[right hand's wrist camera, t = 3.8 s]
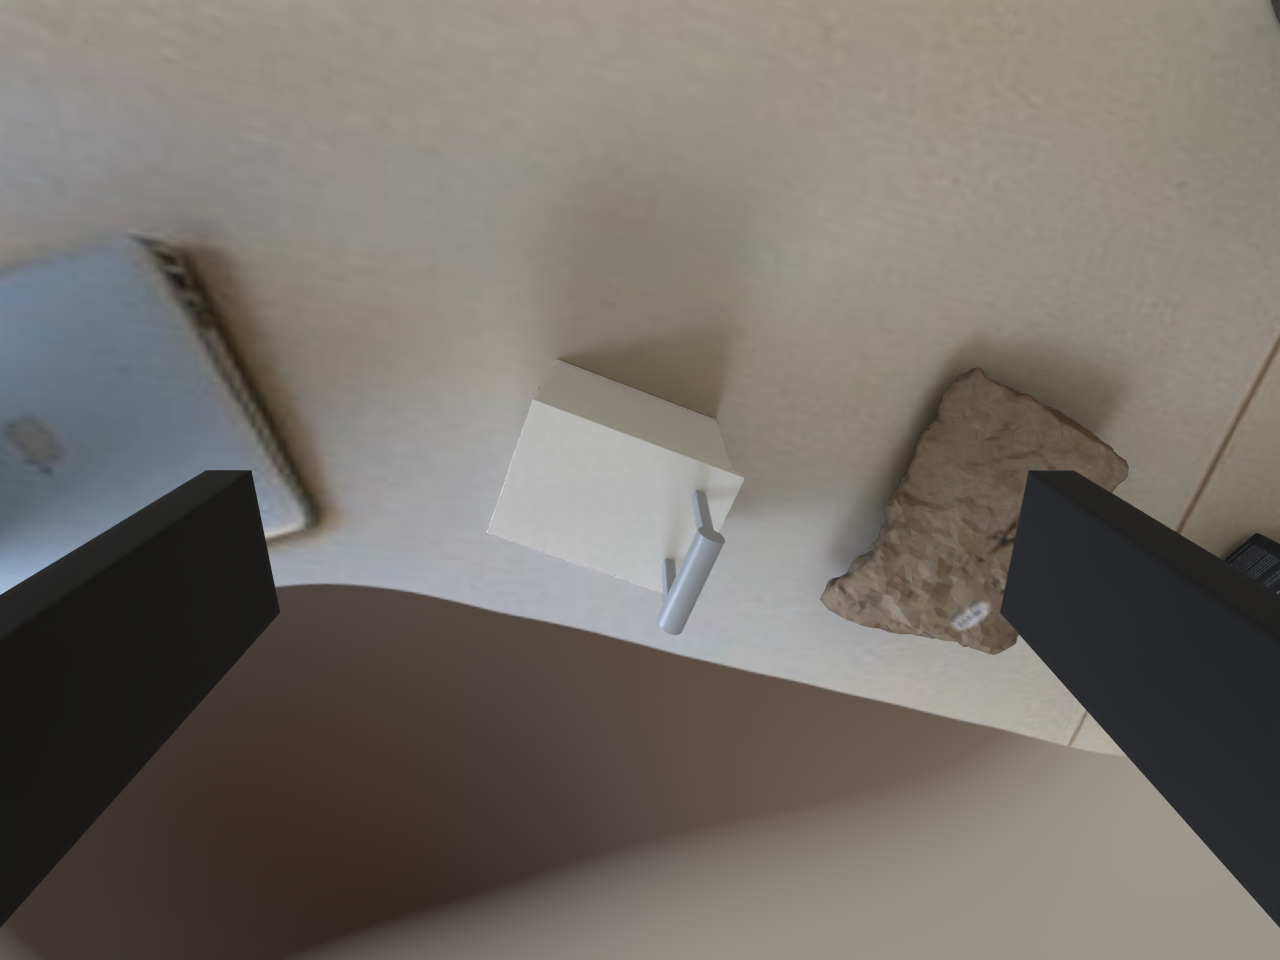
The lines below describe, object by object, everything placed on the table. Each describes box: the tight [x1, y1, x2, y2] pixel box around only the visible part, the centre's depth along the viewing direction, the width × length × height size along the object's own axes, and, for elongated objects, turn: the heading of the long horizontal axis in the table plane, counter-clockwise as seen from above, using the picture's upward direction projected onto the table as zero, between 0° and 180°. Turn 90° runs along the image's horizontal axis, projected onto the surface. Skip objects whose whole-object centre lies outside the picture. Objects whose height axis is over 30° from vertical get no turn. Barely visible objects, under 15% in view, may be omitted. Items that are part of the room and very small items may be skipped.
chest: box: [535, 359, 733, 469], centre depth 50 cm, size 13×9×11 cm
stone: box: [820, 368, 1129, 655], centre depth 54 cm, size 21×15×6 cm
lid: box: [487, 396, 745, 635], centre depth 41 cm, size 13×9×8 cm
